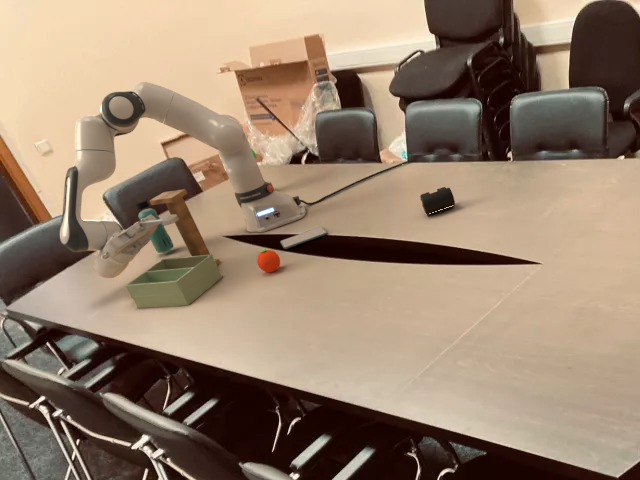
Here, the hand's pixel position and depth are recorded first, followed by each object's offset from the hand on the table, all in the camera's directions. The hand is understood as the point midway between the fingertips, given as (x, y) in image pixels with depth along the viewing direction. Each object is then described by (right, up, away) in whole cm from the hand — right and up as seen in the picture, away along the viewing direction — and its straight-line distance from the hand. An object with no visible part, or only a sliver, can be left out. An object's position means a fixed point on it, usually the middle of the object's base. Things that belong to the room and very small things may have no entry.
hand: (141, 222), depth 219 cm
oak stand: (+10, -11, +21) cm, 26 cm away
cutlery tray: (+9, -21, +7) cm, 24 cm away
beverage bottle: (-12, -2, +44) cm, 46 cm away
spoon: (+5, -1, -1) cm, 6 cm away
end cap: (+90, +7, +16) cm, 92 cm away
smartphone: (+44, -1, +22) cm, 49 cm away
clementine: (+39, -14, +5) cm, 41 cm away
